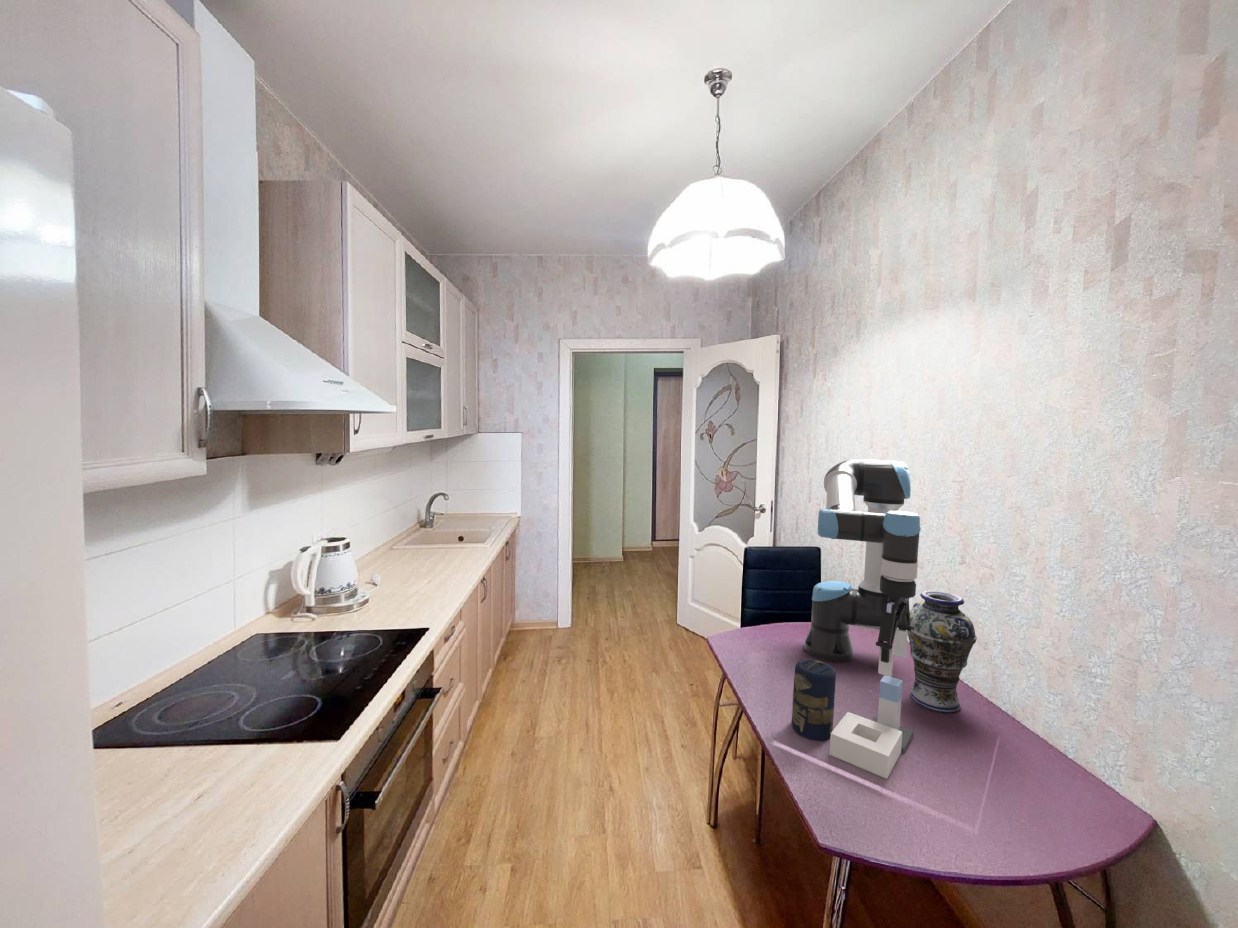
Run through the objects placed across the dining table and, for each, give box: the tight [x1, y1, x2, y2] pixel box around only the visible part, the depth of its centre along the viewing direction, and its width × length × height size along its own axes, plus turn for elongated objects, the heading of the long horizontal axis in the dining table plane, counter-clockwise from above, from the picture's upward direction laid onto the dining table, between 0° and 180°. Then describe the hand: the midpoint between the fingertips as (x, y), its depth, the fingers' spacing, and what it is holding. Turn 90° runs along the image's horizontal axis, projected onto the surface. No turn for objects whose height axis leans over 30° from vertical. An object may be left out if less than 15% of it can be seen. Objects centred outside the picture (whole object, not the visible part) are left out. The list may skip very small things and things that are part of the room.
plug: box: [877, 675, 904, 730], centre depth 126 cm, size 4×4×14 cm
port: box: [828, 711, 902, 780], centre depth 119 cm, size 12×12×6 cm
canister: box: [791, 658, 837, 742], centre depth 128 cm, size 10×10×18 cm
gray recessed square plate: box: [871, 716, 914, 754], centre depth 127 cm, size 9×9×2 cm
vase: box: [906, 590, 978, 714], centre depth 143 cm, size 17×17×30 cm
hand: (892, 664), depth 125 cm, fingers open, 13 cm apart
